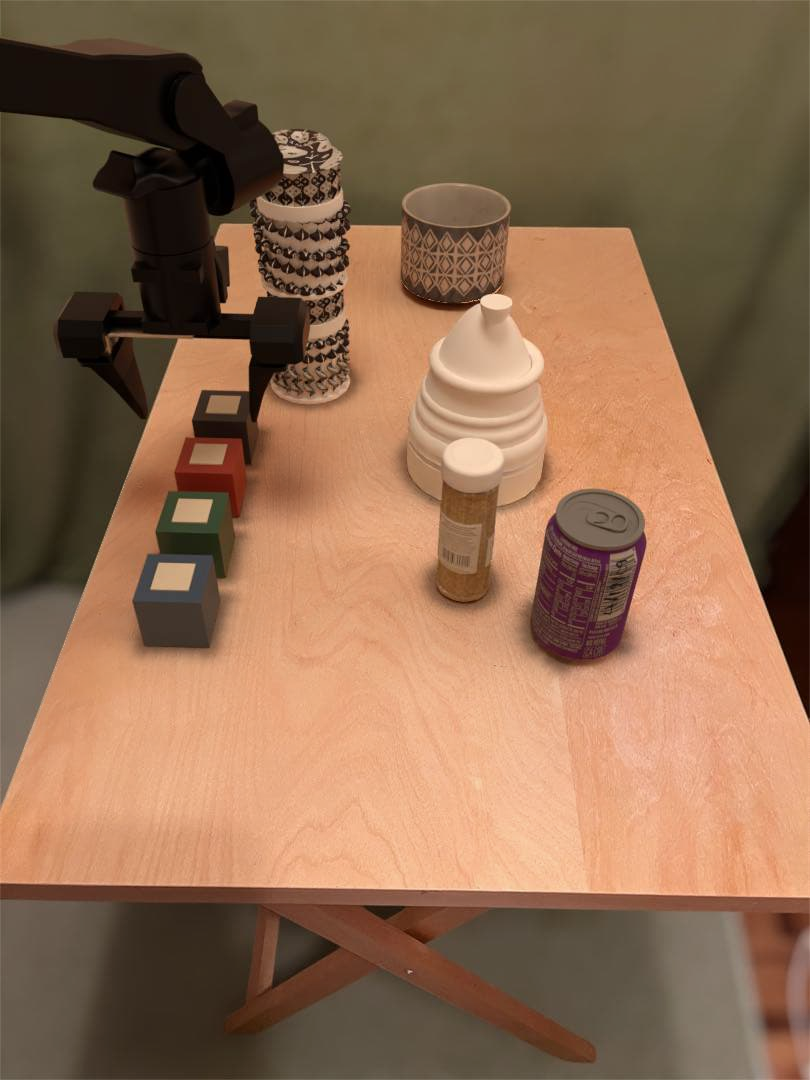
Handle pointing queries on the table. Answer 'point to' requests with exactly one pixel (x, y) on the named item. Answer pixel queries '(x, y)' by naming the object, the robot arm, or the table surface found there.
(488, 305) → the honey pot
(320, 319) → the decorative candle
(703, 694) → the table surface
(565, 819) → the table surface
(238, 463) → the red cube
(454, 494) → the sprinkles bottle
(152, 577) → the slate block
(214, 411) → the charcoal block
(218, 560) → the green block
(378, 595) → the table surface
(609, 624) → the beverage can
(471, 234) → the planter
